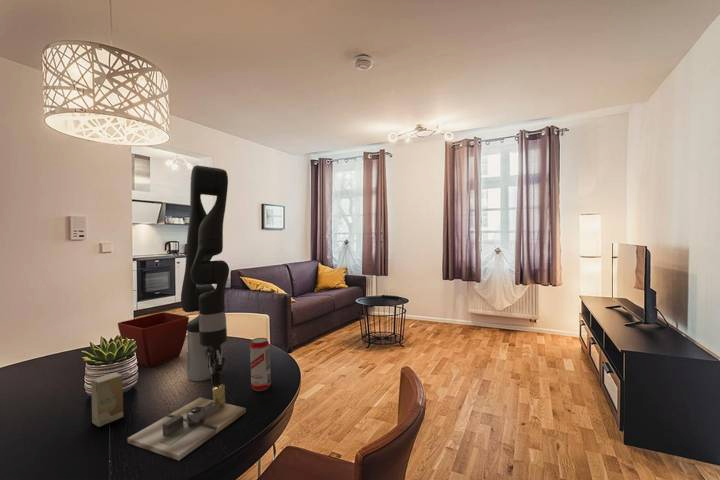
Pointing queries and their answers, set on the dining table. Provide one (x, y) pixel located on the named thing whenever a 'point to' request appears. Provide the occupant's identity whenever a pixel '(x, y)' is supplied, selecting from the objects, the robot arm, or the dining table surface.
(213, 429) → the door board
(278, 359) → the dining table surface
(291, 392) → the dining table surface
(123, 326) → the plant pot
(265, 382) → the beer can
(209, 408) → the latch arm
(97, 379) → the skincare box
